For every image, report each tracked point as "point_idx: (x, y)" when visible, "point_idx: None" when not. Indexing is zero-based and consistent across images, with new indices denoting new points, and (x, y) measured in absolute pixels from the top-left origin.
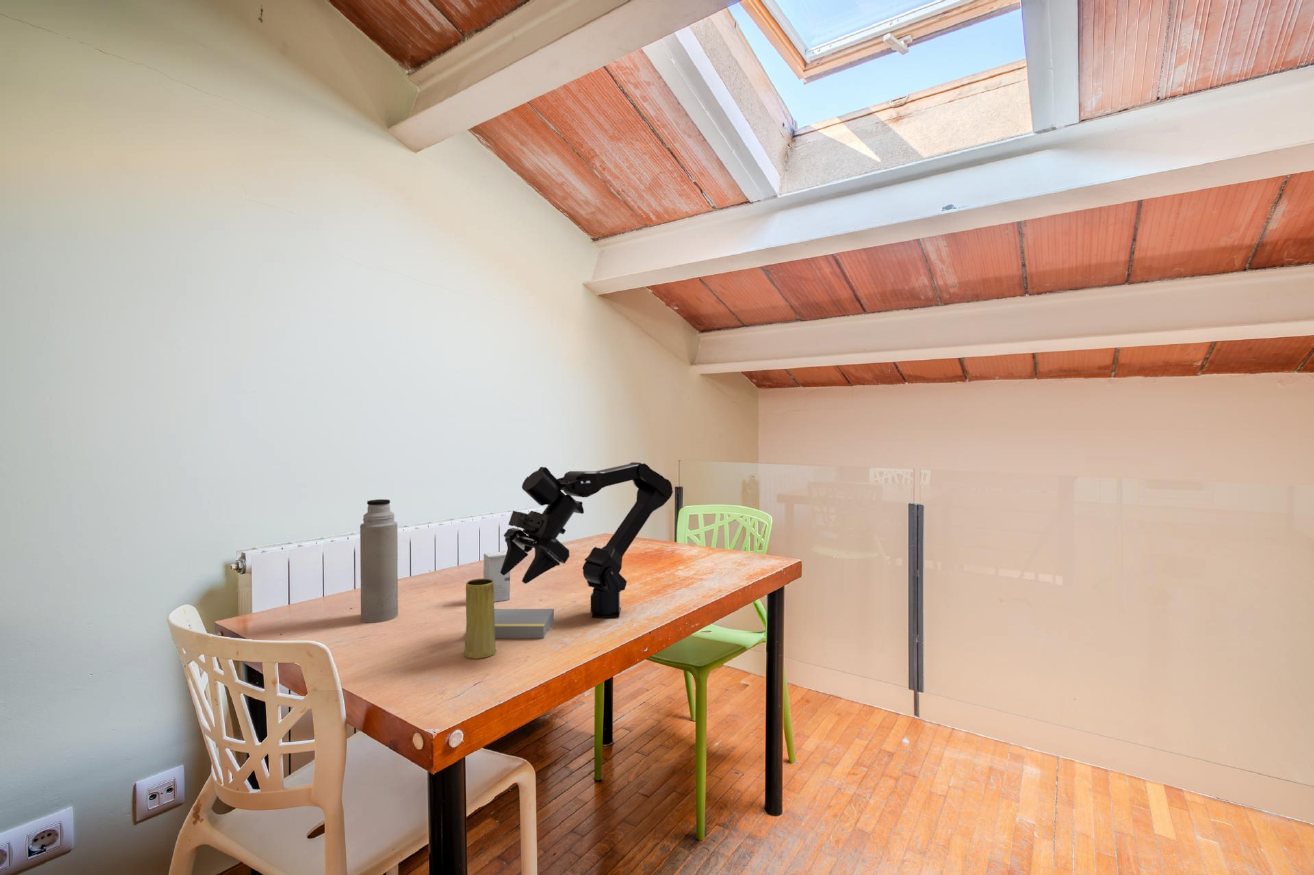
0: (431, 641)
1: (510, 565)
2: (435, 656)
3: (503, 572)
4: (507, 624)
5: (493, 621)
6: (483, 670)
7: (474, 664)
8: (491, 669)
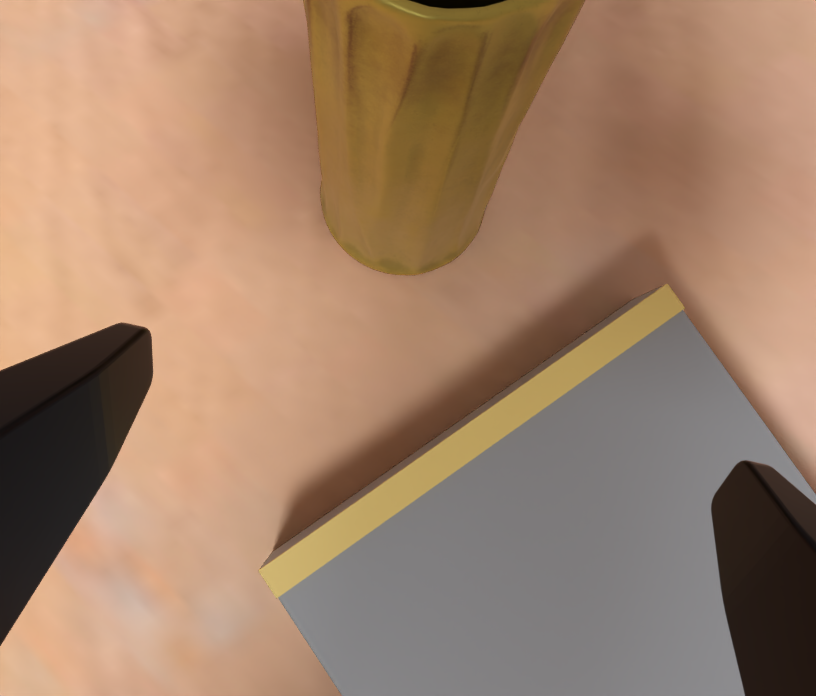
0: (756, 162)
1: (782, 654)
2: (558, 53)
3: (735, 497)
4: (484, 442)
5: (335, 166)
6: (215, 68)
7: (311, 91)
8: (190, 96)
